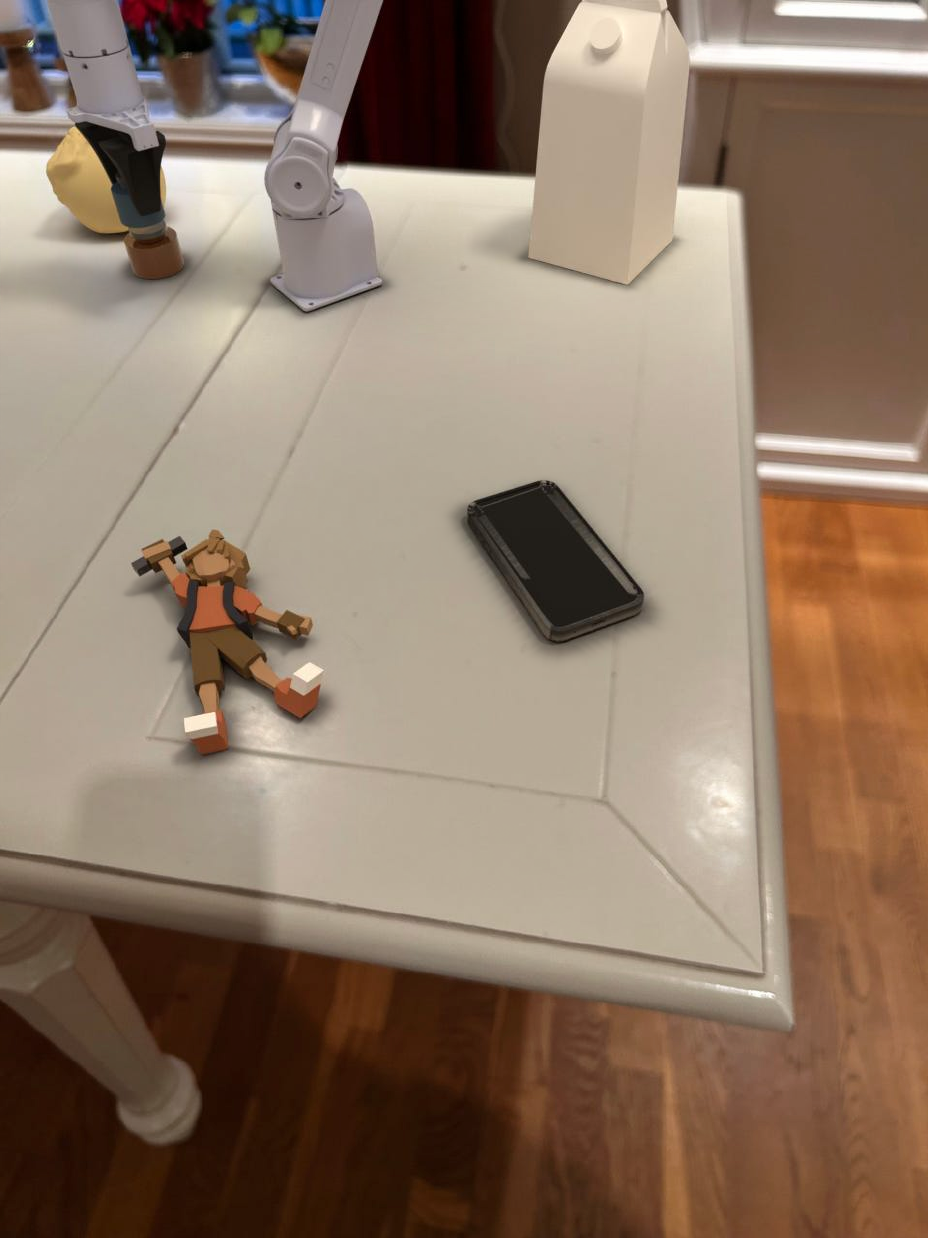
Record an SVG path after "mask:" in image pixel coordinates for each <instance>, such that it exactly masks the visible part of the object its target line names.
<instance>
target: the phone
mask: <svg viewBox="0 0 928 1238" xmlns="http://www.w3.org/2000/svg"><path fill="white" fill-rule="evenodd" d="M466 511H467V512H466V513H467V514H466V515H467V519H466V520H467V524H468V525H469V526H470V528H471V529H472V531H473V532H474V534H475V536H476V538H478V540H479V542H480V543H481V545H482V546H483V547H484V549H485V550H486V552H487V553H488V555H489V556H490V558H491V560H492V561H493V562H494V564H495V565H496V566H497V568H498V569H499V571H500V572H501V574H502V575H503V577H504V578H505V580H506V582H507V583H508V584H509V585H510V588H512V590H513V592H514V593H515V595H516V596H517V597H518V599H519V600H520V602H521V603H522V605H523V606H524V608H525V609H526V611H527V612H528V613H529V615H530V616H531V618H532V620H533V622H534V623H535V624H536V625H537V627H538V628H539V630H540V631H541V633H542V634H543V636H545V637H546V639H548V640H550V641H553V642H560V643H562V642H567V641H569V640H572V639H575V638H577V637H580V636H584V635H586V634H589V633H591V632H594V631H597V630H599V629H602V628H605V627H607V626H611V625H614V624H615V623H618V622H621V621H625V620H627V619H629V618H632V617H636V616H637V615H639V614H640V612H641V611H642V609H643V605H644V599H645V593H644V591H643V589H642V588H641V586H640V585H639V584H638V583H637V581H636V580H635V579H634V578H633V577H632V575H631V574H630V573H629V572H628V570H627V569H626V568H625V567H624V566H623V564H622V563H621V562H620V561H619V560H618V558H617V557H616V556H615V554H614V553H613V552H612V551H611V549H610V548H609V547H608V546H607V544H606V543H605V542H604V541H603V540H602V538H601V537H600V536H599V535H598V533H597V532H596V531H595V530H594V529H593V528H592V526H591V525H590V524H589V522H588V521H587V520H586V519H585V518H584V516H583V515H582V514H581V512H580V511H579V510H578V509H577V508H576V506H575V505H574V504H573V503H572V501H571V500H570V499H569V497H568V496H567V495H566V494H565V493H564V492H563V490H562V489H561V488H560V487H559V486H558V484H556V482H554V481H551V480H548V479H540V480H536V481H534V482H530V483H526V484H523V485H520V486H517V487H513V488H511V489H507V490H504V491H500V492H498V493H494V494H492V495H488V496H485V497H482V498H479V499H475V500H473V501H471V502H470V503H469V504H468V505H467V510H466Z"/></svg>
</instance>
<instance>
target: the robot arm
mask: <svg viewBox="0 0 928 1238" xmlns="http://www.w3.org/2000/svg"><path fill="white" fill-rule="evenodd" d="M45 1H46V5H47V8H48V10H49V11H48V12H49V14H50V18H51V20H52V25H53V28H54V31H55V33H56V36H57V40H58V43H59V47H60V50H61V53H62V56H63V60H64V62H65V67H66V69H67V73H68V76H69V78H70V82H71V85H72V89H73V92H74V95H75V98H76V105H75V106H73V107H69V108H67V109H66V114H67V118H68V119H69V120H70V121H72V122H73V123H74V126H75V127H76V128H77V129H78V130H79V131H80V133H81V134H82V135H83V136H84V137H85V139H86V140H87V141H88V143H89V144H90V145H91V147H92V148H93V150H94V151H95V153H96V155H97V156H98V158H99V160H100V162H101V164H102V165H103V167H104V169H105V171H106V173H107V175H108V177H109V179H110V181H111V183H112V185H113V184H114V183H116V182H117V179H116V176H115V175H116V173H117V172H119V174H120V176H121V178H122V179H123V182H124V184H125V186H126V189H127V191H128V193H129V196H130V198H131V200H132V203H133V205H134V207H135V209H136V210H137V212H138V213H139V215H141V216H146V215H149V214H152V213H156V212H159V211H161V189H160V170H161V166H162V163H163V162H162V161H163V156H164V152H165V149H166V146H167V140H166V135H164V134H163V133H162V132H160V131H159V130H156V128H155V125H154V122H153V121H151V119H150V114H149V107H148V104H147V99H146V97H145V96H144V95H143V93H142V89H141V84H140V81H139V77H138V73H137V69H136V65H135V61H134V58H133V53H132V50H131V46H130V43H129V38H128V36H127V35H128V34H127V31H126V27H125V23H124V19H123V16H122V12H121V8H120V4H119V0H45ZM383 2H384V0H325V1H324V4H323V7H322V12H321V15H320V18H319V21H318V25H317V28H316V31H315V36H314V38H313V42H312V45H311V49H310V52H309V55H308V59H307V63H306V66H305V69H304V72H303V75H302V79H301V82H300V86H299V89H298V92H297V95H296V98H295V101H294V105H293V108H292V110H291V112H290V113H289V114H288V115H287V117H285V118H284V119H283V120H282V121H281V122H280V123H279V125H278V126H277V128H276V130H275V133H274V136H273V147H272V151H271V154H270V159H269V160H268V162H267V165H266V168H265V171H264V177H263V180H264V181H263V183H264V186H265V187H264V188H265V191H266V194H267V196H268V197H269V199H270V205H271V210H272V211H271V212H272V217H273V223H274V228H275V234H276V240H277V245H278V250H279V257H280V261H281V267H282V273H281V274H278V275H275V276H272V277H271V278H270V279H269V281H270V284H271V285H272V286H274V287H275V288H276V289H277V290H278V291H280V292H281V293H282V294H283V295H284V296H286V297H287V299H289V300H290V301H292V303H293V304H295V305H296V306H298V307H299V308H300V309H301V310H302V311H304V312H311V311H313V310H317V309H319V308H321V307H324V306H328V305H331V304H333V303H335V302H339V301H341V300H344V299H346V298H349V297H351V296H354V295H357V294H360V293H363V292H365V291H368V290H371V289H374V288H377V287H380V286H381V285H382V284H383V279H381V278H380V277H379V272H378V271H379V270H378V262H377V261H378V260H377V250H376V241H375V232H374V231H375V230H374V222H373V218H372V214H371V212H370V209H369V206H368V204H367V201H366V200H365V199H364V197H363V195H361V193H360V192H359V191H358V190H357V189H355V188H349V187H348V188H343V189H342V188H341V187H340V185H339V183H338V182H337V180H336V179H335V177H334V171H335V166H336V163H337V160H338V154H339V147H338V142H339V138H340V135H341V130H342V127H343V123H344V119H345V116H346V113H347V110H348V107H349V104H350V102H351V98H352V95H353V92H354V89H355V86H356V83H357V80H358V77H359V74H360V71H361V68H362V65H363V62H364V60H365V56H366V54H367V50H368V47H369V44H370V42H371V38H372V35H373V32H374V29H375V27H376V23H377V20H378V18H379V17H378V16H379V14H380V10H381V9H382V5H383Z"/></svg>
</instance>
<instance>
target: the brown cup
mask: <svg viewBox="0 0 928 1238" xmlns="http://www.w3.org/2000/svg"><path fill="white" fill-rule="evenodd" d="M127 232H128V233H127V234H126V235H125V236H124V238H123V244H124V247H125V250H126V254H127V257H128V260H129V263H130V266H131V270H132V273H133V274H134V276H136V277H138V278H141V279H144V280H145V279H146V280H159V279H165V278H169V277H171V276H174V275H176V274H177V273H179V272H180V271H182V269H183V268H184V267H185V260H184V257H183V253H182V249H181V245H180V241H179V237H178V234H177V231H176V230H175V229H174V228H172V227H170V226H168V225H167V222H166V221H165V220H164V219H163V220H162V221H161V222H160V223H158V224H156V225H153V226H149V227H144V228H130V227H128V231H127Z"/></svg>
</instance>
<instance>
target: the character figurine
mask: <svg viewBox="0 0 928 1238" xmlns="http://www.w3.org/2000/svg"><path fill="white" fill-rule="evenodd" d="M185 551H186V552H185ZM183 552H184V553H183ZM141 553H142V555H143V556H141V557H140V558H138V559H136V560H134V561H132V562H131V563H130V565H131V567H132V569H133V571H134V572H135V574H137V576H138V577H142V576H143V575H145V574H147V573H149V572H150V571H153V573H154V574H157V573H160V572H161V571H162V572H163V573H164V575H165V577H166V578H167V580H168V582H169V583H170V585H171V587H172V589H173V592H174V595H175V597H176V598H177V600H178V604H179V605H181V606H182V607H184V608H185V609H184V612H183V615H182V617H181V620H180V621H179V623H178V625H177V627H176V631H177V633H178V635H179V636H180V638H181V639H182V640H183V642H184V643H185V645H186V646H187V648H188V649H190V654H191V667H192V679H193V689H194V692H195V696H197V697H199V698H200V700H201V703H202V706H203V710H204V713H203V712H202V713H199V715H198V714H197V715H193V716H188V717H184V718H183V724H184V734H185V735H186V736H187V737H188V738H189V740H190V741H191V742H192V743H193V744H194V745H196V747H197V749H198V751H199V753H200V755H201V756H202V755H206V754H211V753H217V752H220V751H225V750H229V744H228V733H227V723H226V718H225V715H224V714H223V711H222V709H220V693H221V692H223V691H225V689H226V684H225V673H224V668H223V663H222V659H223V661H225V662H226V663H227V664H228V665H229V666H230V667H231V668H232V669H233V670H234V671H236V672H237V673H238V674H240V675H241V676H243V677H244V678H245V679H247V680H249V679H250V678H251V677H253V678H254V680H255V681H256V682H257V683H259V684H261V685H263V687H266V688H268V690H270V691H271V692H273V693H274V694H273V701H274V702H275V703H276V704H277V705H278V706H279V707H280V708H283V710H285V711H288V712H289V713H290V714H293V715H294V716H296V717H298V718H300V719H301V718H303V717H305V715H307V714H308V713H309V712H311V711H312V710H314V709H315V708H316V707H317V706H318V700H319V695H320V689H321V686H322V685H321V683H322V679H323V675H324V669H323V668H321V667H319V666H317V665H316V664H314V663H312V662H310V661H309V662H308V663H306V664H304V665H302V667H300V668H299V669H297V670H296V671H295V672H292V673H293V674H292V676H291V678H290V677H286V678H285V679H281V678H280V677H279V676H278V675H277V674H276V673H275V672H274V671H273V669H272V668H270V666H269V665H268V664H266V663H267V661H268V658H267V654H266V652H265V651H264V650H263V649H262V648H261V647H260V646H259V645H258V644H257V643H256V642H255V641H254V635H253V632H252V629H251V626H254V625H255V624H257V623H258V622H259V623H262V624H264V625H266V626H269V627H272V628H274V629H278V632H279V633H281V634H283V635H284V636H285V635H286V636H288V637H289V638H292V639H293V640H296V641H298V640H299V639H300V637H301V636H307V637H309V636H310V633H311V631H312V629H313V626H314V624H313V619H312V617H310V616H305V615H301V614H297V613H294V612H292V611H290V610H288V609H286V610H285V611H284V613H279V612H276V611H274V610H272V609H269V608H267V607H265V606H263V603H262V601H261V600H260V599H259V598H258V596H257V595H256V594H255V593H252V592H250V591H249V589H247V588H245V587H246V585H247V583H248V582H249V581H248V578H247V575H248V573H249V572H250V570H251V566H250V563H249V560H248V556H247V553H246V552H244V551H242V550H241V549H239V548H238V547H236V546H235V545H233V544H232V543H230V542H229V541H227V540H225V537H224V535H223V534H222V532H220V531H219V529H213V528H212V529H211V531H210V532H209V534H208V538H206V539H204V540H202V541H201V542H200V543H198V544H197V545H195V546H193V547H192V548H190V549H188V546H187V543H186V541H185V540H184V539H183V538H182V537H181V536H180V535H178V536H176V537H174V538H172V539H171V540H170V541H168V540H166V541H165V540H164V539H163V538H162V539H158V540H157V541H155V542H153V543H151V544H149V545H147V546H145V547H142V548H141ZM182 553H183V554H182ZM180 554H182V555H180ZM179 555H180V556H181V559H182V562H183V563H184V565H185V570H184V573H182V572H179V570H178V569H177V568H176V566H175V565H176V564H177V560H176V558H175V557H177V556H179Z"/></svg>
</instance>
